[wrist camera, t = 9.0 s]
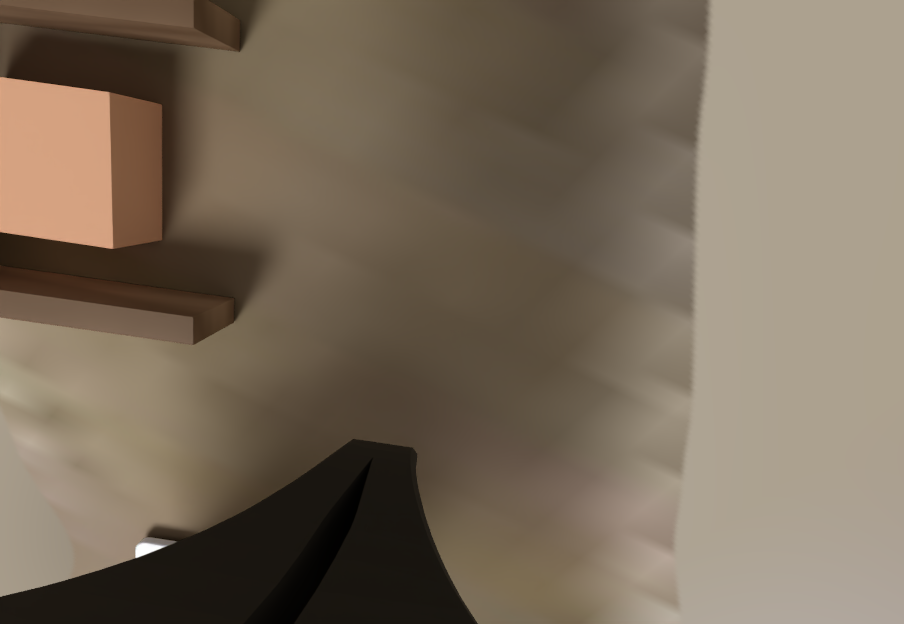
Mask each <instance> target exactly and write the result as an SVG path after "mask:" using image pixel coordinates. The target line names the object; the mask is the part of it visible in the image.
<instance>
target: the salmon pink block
mask: <svg viewBox="0 0 904 624" xmlns="http://www.w3.org/2000/svg"><path fill="white" fill-rule="evenodd" d="M0 232H4V233H10V234H17V235H24V236H30V237H37V238H44V239H50V240H57V241H64V242H70V243H77V244H84V245H90V246H97V247H104V248H110V249H115V248H121V247H127V246H132V245H138V244H143V243H149V242H155V241H160V240H162V104H158V103H153V102H149V101H145V100H141V99H136V98H132V97H128V96H123V95H119V94H115V93H111V92H104V91H97V90H90V89H83V88H75V87H68V86H61V85H54V84H47V83H39V82H32V81H25V80H18V79H11V78H3V77H0Z"/></svg>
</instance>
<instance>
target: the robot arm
mask: <svg viewBox="0 0 904 624" xmlns="http://www.w3.org/2000/svg"><path fill="white" fill-rule="evenodd" d="M416 462H417V453H416V452H415V450H414V449H413V448H410V447H403V446H397V445H390V444H383V443H376V442H370V441H363V440H356V439H353V440H351V441H350V442H348V443H347V444H346V445H344V446H343V447H341V448H340V449H339V450H337V451H336V452H334V453H333V454H332V455H330V456H329V457H328V458H326V459H325V460H323V461H322V462H321V463H319V464H318V465H317V466H315V467H314V468H312V469H311V470H309V471H308V472H307V473H305V474H304V475H302V476H301V477H299V478H298V479H296V480H295V481H293V482H292V483H290V484H289V485H287V486H285V487H284V488H282V489H281V490H279V491H277V492H276V493H274V494H272V495H271V496H269V497H267V498H266V499H264V500H262V501H261V502H259V503H258V504H256V505H254V506H252V507H251V508H249V509H247V510H245V511H243V512H241V513H239V514H237V515H236V516H234V517H232V518H230V519H228V520H225V521H223V522H221V523H219V524H217V525H215V526H213V527H211V528H209V529H207V530H205V531H202V532H200V533H198V534H196V535H193V536H191V537H188V538H186V539H183V540H181V541H178V542H177V541H171V540H165V539H158V538H152V537H146V538H143V539H142V540H141V541H140V542H139V543H138V544H137V546H136V549H135V553H136V558H135V559H132V560H129V561H126V562H123V563H120V564H117V565H114V566H111V567H108V568H105V569H102V570H99V571H95V572H92V573H89V574H85V575H82V576H79V577H75V578H72V579H69V580H65V581H62V582H58V583H55V584H51V585H47V586H43V587H40V588H35V589H31V590H27V591H23V592H18V593H14V594H10V595H6V596H2V597H0V624H478V623H477V622H476V620H475V619H474V617H473V616H472V614H471V613H470V611H469V609H468V608H467V606H466V605H465V603H464V602H463V600H462V599H461V597H460V595H459V593H458V591H457V589H456V588H455V586H454V584H453V582H452V580H451V578H450V576H449V574H448V572H447V570H446V568H445V566H444V564H443V562H442V560H441V557H440V555H439V553H438V550H437V548H436V545H435V543H434V540H433V538H432V535H431V532H430V529H429V526H428V524H427V520H426V517H425V514H424V510H423V506H422V502H421V498H420V494H419V490H418V485H417V477H416Z"/></svg>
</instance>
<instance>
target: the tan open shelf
mask: <svg viewBox="0 0 904 624" xmlns="http://www.w3.org/2000/svg"><path fill="white" fill-rule="evenodd" d="M0 23H8V24H16V25H24V26H33V27H41V28H49V29H57V30H66V31H74V32H82V33H90V34H98V35H107V36H115V37H123V38H131V39H140V40H148V41H156V42H164V43H173V44H181V45H189V46H197V47H206V48H214V49H222V50H230V51H238V52H240V20H239V19H237V18H236V17H234V16H232V15H231V14H229V13H228V12H226V11H225V10H223V9H222V8H220V7H218V6H217V5H215V4H214V3H212V2H211V1H209V0H0ZM0 317H1V318H8V319H15V320H22V321H29V322H36V323H43V324H50V325H57V326H64V327H71V328H78V329H85V330H92V331H99V332H106V333H113V334H120V335H127V336H134V337H141V338H148V339H155V340H162V341H169V342H176V343H183V344H190V345H194V344H196V343H198V342H199V341H201V340H203V339H205V338H207V337H208V336H210V335H212V334H214V333H216V332H217V331H219V330H221V329H223V328H225V327H226V326H228V325H230V324H232V323H234V298H230V297H222V296H215V295H208V294H201V293H194V292H187V291H179V290H172V289H165V288H158V287H151V286H144V285H136V284H129V283H122V282H115V281H108V280H100V279H93V278H86V277H79V276H72V275H65V274H57V273H50V272H43V271H36V270H29V269H22V268H14V267H7V266H0Z"/></svg>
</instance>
